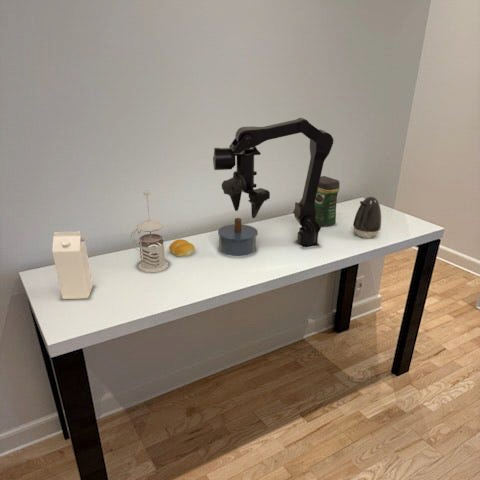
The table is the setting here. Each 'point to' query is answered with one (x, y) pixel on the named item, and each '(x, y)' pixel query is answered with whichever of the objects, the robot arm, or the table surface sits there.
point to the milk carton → (72, 265)
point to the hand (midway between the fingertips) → (244, 214)
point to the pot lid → (237, 231)
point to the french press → (151, 260)
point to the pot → (237, 246)
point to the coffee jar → (326, 201)
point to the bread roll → (182, 248)
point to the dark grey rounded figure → (368, 218)
